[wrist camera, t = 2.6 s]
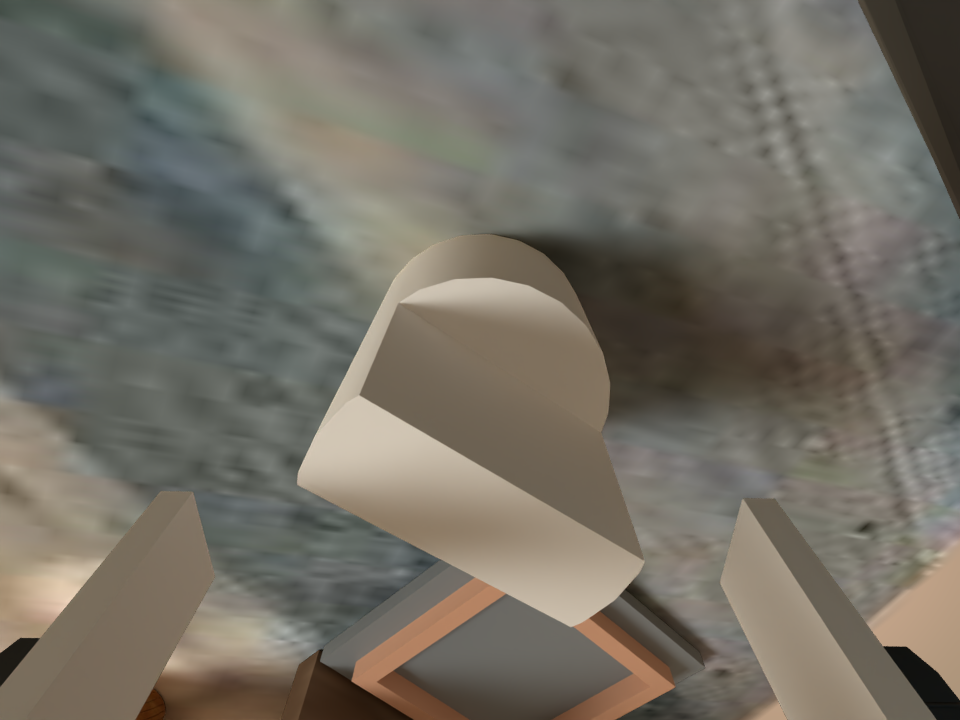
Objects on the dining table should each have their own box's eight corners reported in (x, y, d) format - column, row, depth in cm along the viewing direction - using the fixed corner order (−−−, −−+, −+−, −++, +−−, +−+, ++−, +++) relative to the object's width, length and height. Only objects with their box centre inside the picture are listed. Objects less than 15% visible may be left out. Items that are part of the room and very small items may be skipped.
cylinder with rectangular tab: (625, 312, 24) (739, 490, 13) (503, 452, 27) (514, 688, 16) (453, 188, 22) (421, 280, 11) (342, 356, 25) (233, 555, 14)
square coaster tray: (519, 500, 28) (522, 531, 26) (699, 652, 33) (713, 687, 31) (324, 645, 33) (314, 680, 31) (505, 759, 38) (506, 796, 36)
